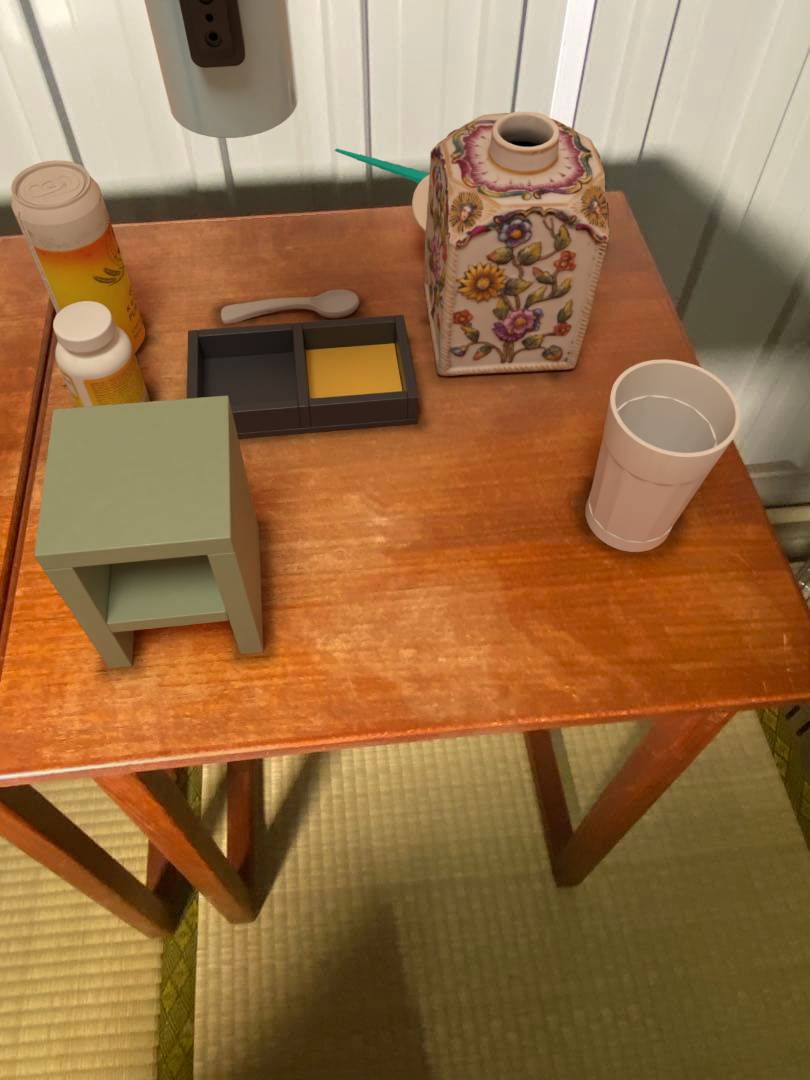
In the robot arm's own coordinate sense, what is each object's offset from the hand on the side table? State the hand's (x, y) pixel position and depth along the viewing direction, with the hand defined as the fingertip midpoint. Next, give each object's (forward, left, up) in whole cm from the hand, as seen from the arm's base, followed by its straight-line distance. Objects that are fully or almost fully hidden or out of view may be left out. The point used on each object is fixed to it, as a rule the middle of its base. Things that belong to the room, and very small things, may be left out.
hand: (220, 19), depth 37 cm
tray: (+1, +8, -32) cm, 33 cm away
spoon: (+1, +17, -33) cm, 37 cm away
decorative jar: (+18, +14, -32) cm, 40 cm away
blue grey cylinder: (0, 0, -4) cm, 4 cm away
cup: (+24, -7, -33) cm, 41 cm away
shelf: (-8, -10, -32) cm, 35 cm away
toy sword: (+30, +22, -31) cm, 48 cm away
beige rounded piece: (+14, +21, -25) cm, 36 cm away
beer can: (-14, +15, -33) cm, 39 cm away
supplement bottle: (-13, +7, -33) cm, 36 cm away
